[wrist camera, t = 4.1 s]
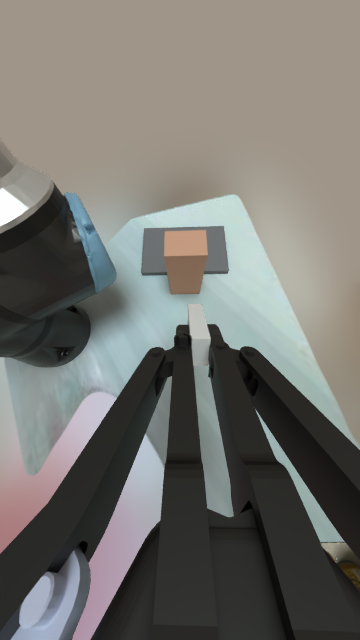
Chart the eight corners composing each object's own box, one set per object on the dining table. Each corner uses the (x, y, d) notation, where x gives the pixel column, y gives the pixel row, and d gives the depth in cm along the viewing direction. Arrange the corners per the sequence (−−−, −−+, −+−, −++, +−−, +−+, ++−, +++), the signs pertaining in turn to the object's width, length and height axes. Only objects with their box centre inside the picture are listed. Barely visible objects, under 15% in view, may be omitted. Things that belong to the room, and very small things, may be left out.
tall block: (171, 294, 38) (164, 256, 24) (171, 276, 39) (164, 231, 26) (199, 293, 38) (207, 255, 24) (198, 275, 39) (206, 230, 26)
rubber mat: (142, 275, 39) (141, 272, 38) (145, 232, 43) (144, 228, 42) (227, 273, 39) (228, 270, 38) (222, 229, 43) (223, 226, 42)
